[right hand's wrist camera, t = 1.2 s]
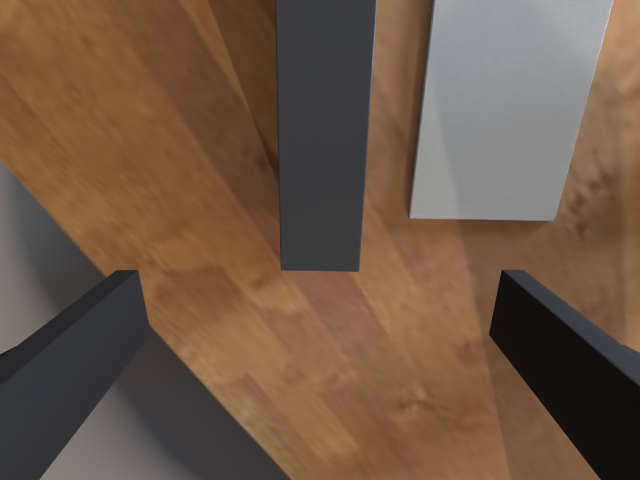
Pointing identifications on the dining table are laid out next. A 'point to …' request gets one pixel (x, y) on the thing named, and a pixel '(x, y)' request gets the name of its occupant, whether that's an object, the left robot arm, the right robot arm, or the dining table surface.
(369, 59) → the beam
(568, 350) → the right robot arm
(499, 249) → the dining table surface
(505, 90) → the mat
